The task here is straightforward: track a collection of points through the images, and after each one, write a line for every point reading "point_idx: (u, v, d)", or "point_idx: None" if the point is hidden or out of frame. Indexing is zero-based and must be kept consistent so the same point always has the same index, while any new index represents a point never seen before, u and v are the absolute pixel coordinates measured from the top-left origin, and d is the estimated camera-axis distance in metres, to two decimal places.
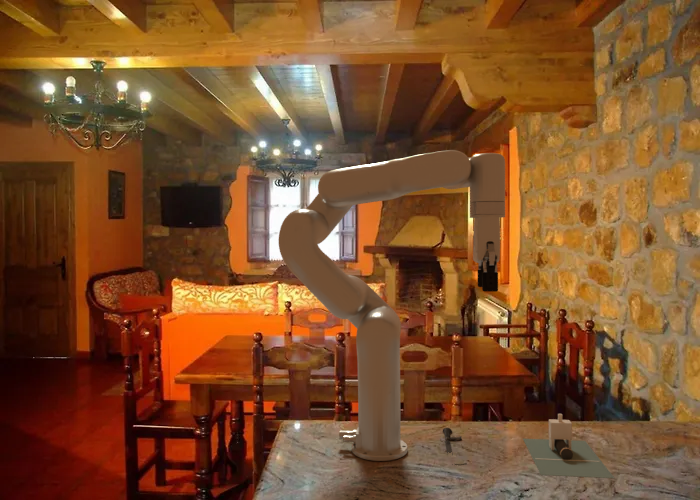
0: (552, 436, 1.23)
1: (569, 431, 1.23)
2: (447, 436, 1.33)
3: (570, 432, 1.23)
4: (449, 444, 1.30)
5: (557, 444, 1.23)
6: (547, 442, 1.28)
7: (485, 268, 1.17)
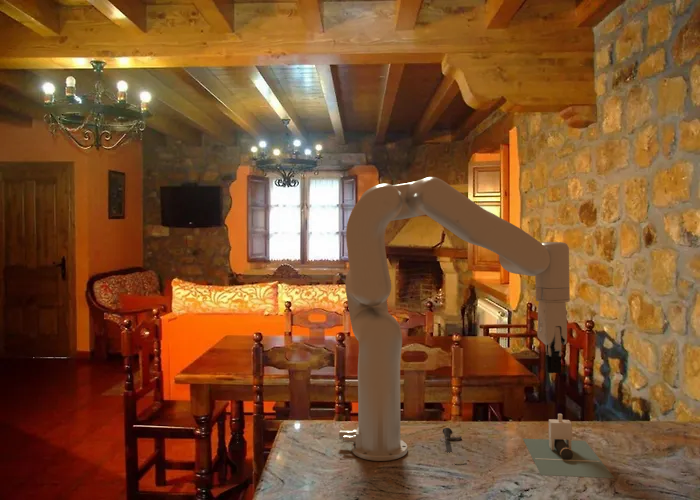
0: (552, 436, 1.23)
1: (569, 431, 1.23)
2: (447, 436, 1.33)
3: (570, 432, 1.23)
4: (449, 444, 1.30)
5: (557, 444, 1.23)
6: (547, 442, 1.28)
7: (550, 355, 1.30)
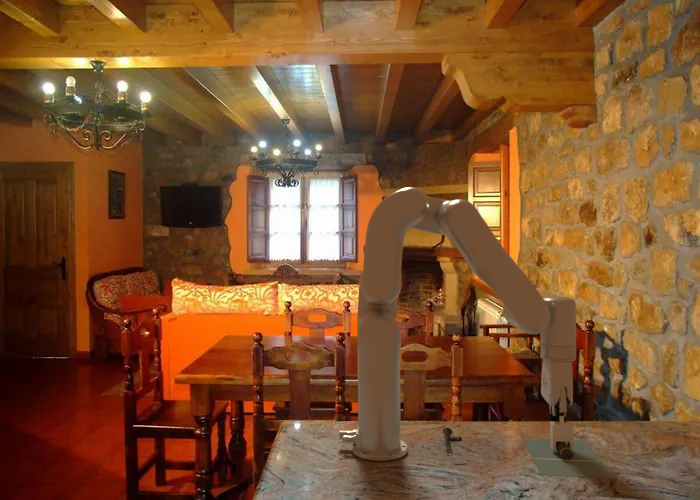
0: (553, 438, 1.22)
1: (571, 433, 1.22)
2: (447, 436, 1.33)
3: (572, 434, 1.22)
4: (449, 444, 1.30)
5: (557, 444, 1.23)
6: (547, 442, 1.28)
7: (554, 415, 1.25)
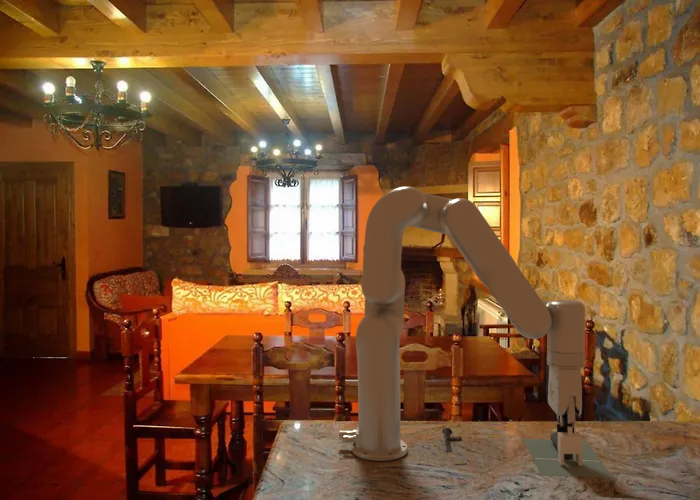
0: (561, 450, 1.15)
1: (580, 445, 1.15)
2: (447, 436, 1.34)
3: (581, 446, 1.15)
4: (449, 444, 1.30)
5: (557, 444, 1.23)
6: (547, 442, 1.28)
7: (562, 425, 1.18)
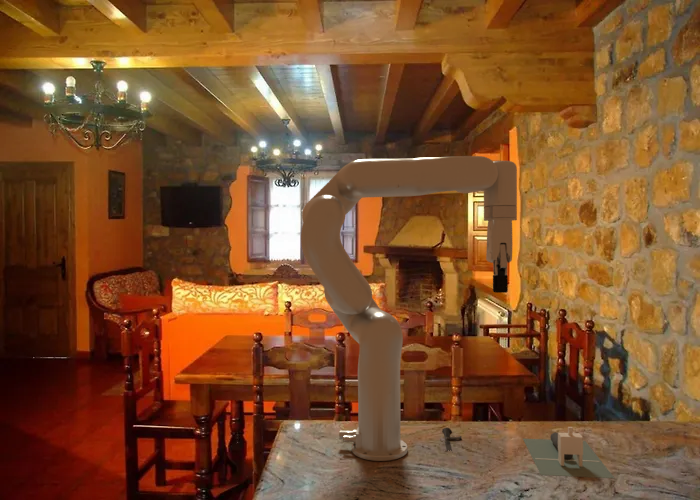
0: (562, 451, 1.15)
1: (580, 446, 1.14)
2: (447, 436, 1.34)
3: (581, 447, 1.14)
4: (449, 444, 1.30)
5: (557, 444, 1.23)
6: (547, 442, 1.28)
7: (496, 274, 1.30)
